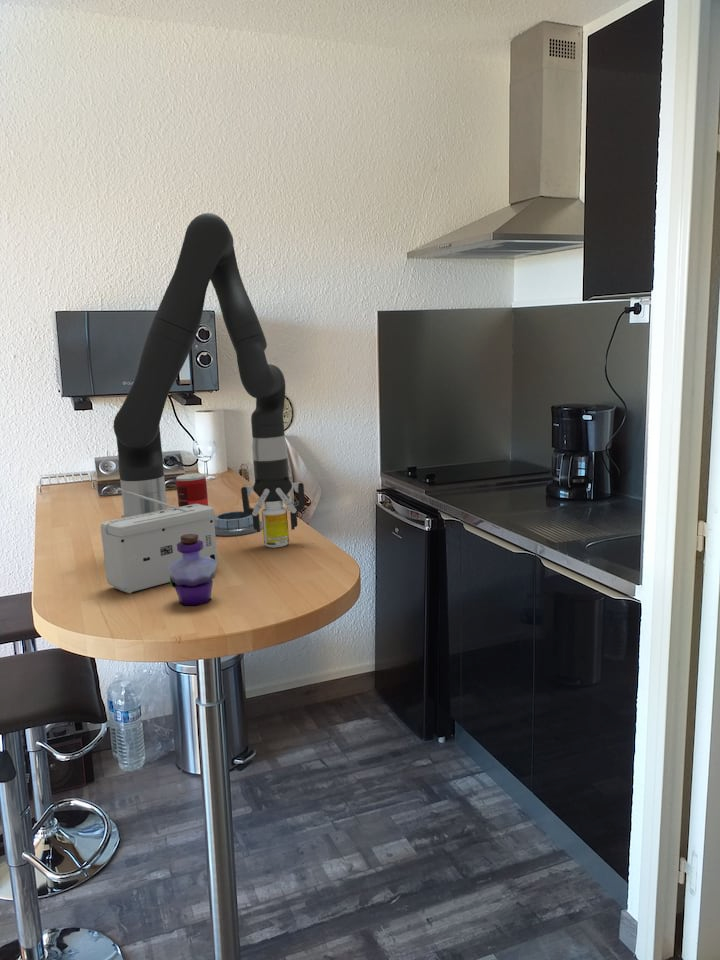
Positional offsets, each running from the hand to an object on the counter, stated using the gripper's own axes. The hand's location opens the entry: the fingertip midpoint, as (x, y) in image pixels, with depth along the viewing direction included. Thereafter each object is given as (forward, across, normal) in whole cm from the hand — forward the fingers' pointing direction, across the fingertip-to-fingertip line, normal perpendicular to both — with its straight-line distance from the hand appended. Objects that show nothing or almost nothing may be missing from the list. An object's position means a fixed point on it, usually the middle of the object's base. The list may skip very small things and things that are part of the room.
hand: (276, 529), depth 168 cm
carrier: (+3, -11, +18) cm, 21 cm away
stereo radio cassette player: (+4, -21, -20) cm, 30 cm away
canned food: (+4, -23, +38) cm, 44 cm away
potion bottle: (+4, -14, -35) cm, 38 cm away
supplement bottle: (+4, 0, 0) cm, 4 cm away
